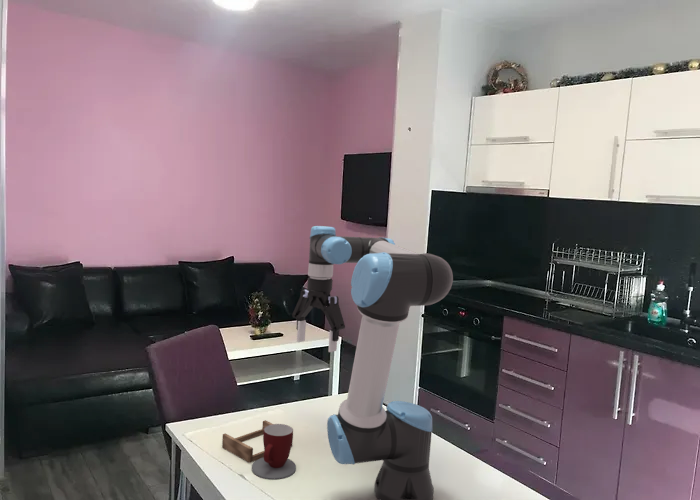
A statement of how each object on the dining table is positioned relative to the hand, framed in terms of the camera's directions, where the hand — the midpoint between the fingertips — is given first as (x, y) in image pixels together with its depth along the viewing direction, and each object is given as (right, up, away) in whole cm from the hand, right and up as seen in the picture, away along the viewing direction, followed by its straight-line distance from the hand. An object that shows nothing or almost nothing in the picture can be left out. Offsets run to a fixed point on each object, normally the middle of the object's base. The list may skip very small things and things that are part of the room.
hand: (316, 346), depth 175 cm
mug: (-10, -30, -19) cm, 37 cm away
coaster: (-10, -30, -19) cm, 37 cm away
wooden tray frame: (-17, -29, -7) cm, 34 cm away
